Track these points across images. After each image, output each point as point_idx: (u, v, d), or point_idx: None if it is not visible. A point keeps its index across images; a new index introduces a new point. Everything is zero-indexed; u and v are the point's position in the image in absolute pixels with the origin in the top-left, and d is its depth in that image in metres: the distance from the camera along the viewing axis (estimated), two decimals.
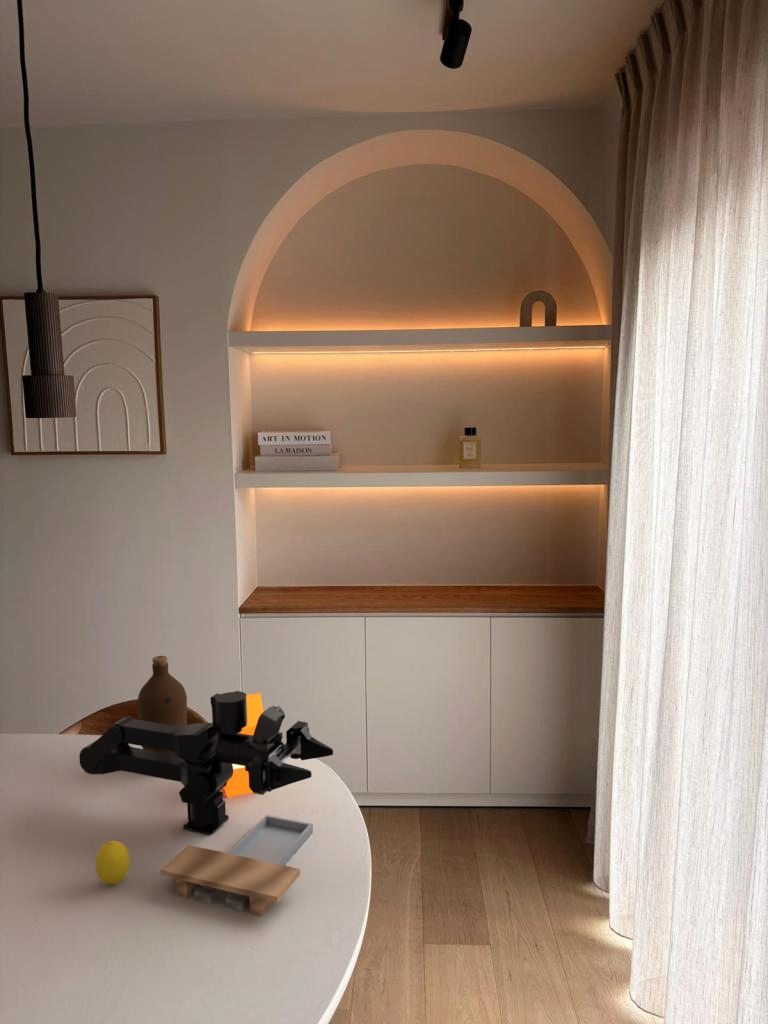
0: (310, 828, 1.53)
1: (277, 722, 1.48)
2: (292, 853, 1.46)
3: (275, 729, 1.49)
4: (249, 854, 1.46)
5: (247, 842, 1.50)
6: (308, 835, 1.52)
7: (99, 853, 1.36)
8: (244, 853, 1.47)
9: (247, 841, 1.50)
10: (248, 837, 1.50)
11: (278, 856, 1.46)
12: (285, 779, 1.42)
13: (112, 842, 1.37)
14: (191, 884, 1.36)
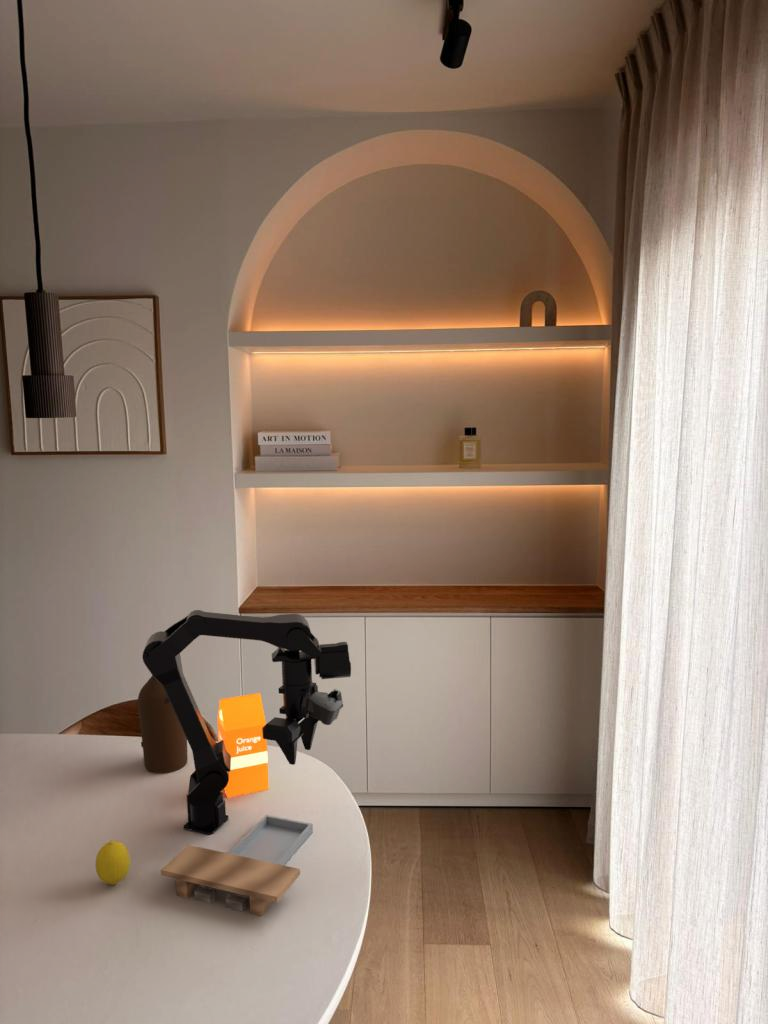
0: (310, 828, 1.53)
1: None
2: (292, 853, 1.46)
3: None
4: (249, 854, 1.46)
5: (247, 842, 1.50)
6: (308, 835, 1.52)
7: (99, 853, 1.36)
8: (244, 853, 1.47)
9: (247, 841, 1.50)
10: (248, 837, 1.50)
11: (278, 856, 1.46)
12: (283, 744, 1.54)
13: (112, 842, 1.37)
14: (191, 884, 1.36)
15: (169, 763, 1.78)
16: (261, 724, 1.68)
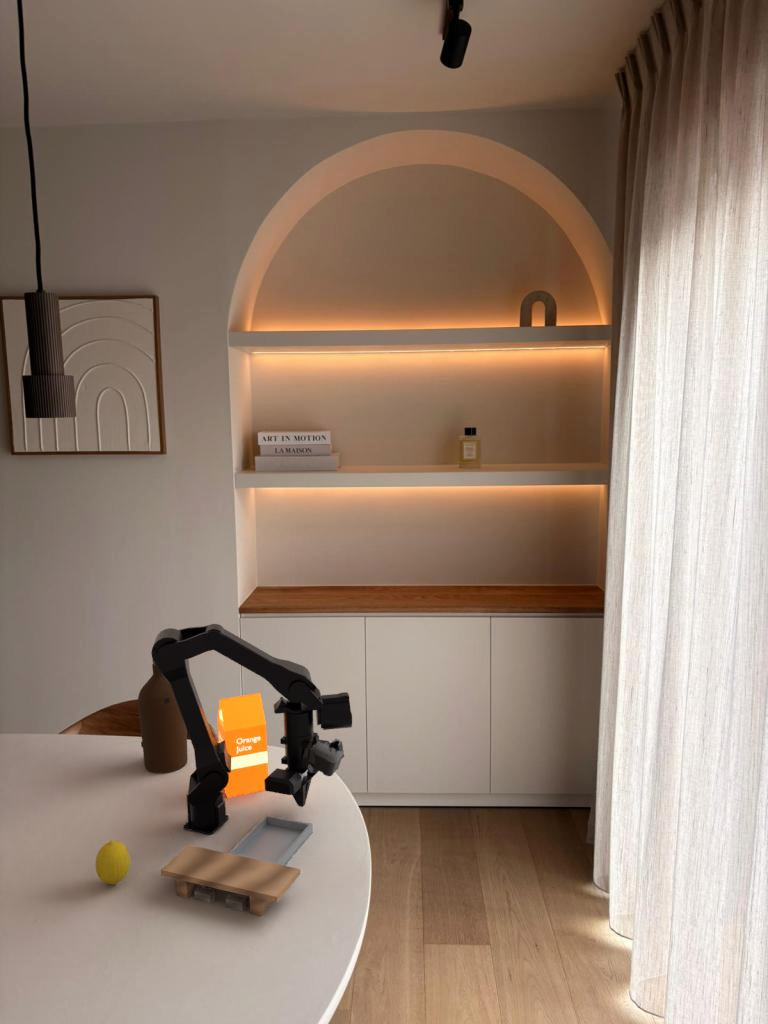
0: (310, 828, 1.53)
1: None
2: (292, 853, 1.46)
3: None
4: (249, 854, 1.46)
5: (247, 842, 1.50)
6: (308, 835, 1.52)
7: (99, 853, 1.36)
8: (244, 853, 1.47)
9: (247, 841, 1.50)
10: (248, 837, 1.50)
11: (278, 856, 1.46)
12: None
13: (112, 842, 1.37)
14: (191, 884, 1.36)
15: (169, 763, 1.78)
16: (261, 724, 1.68)
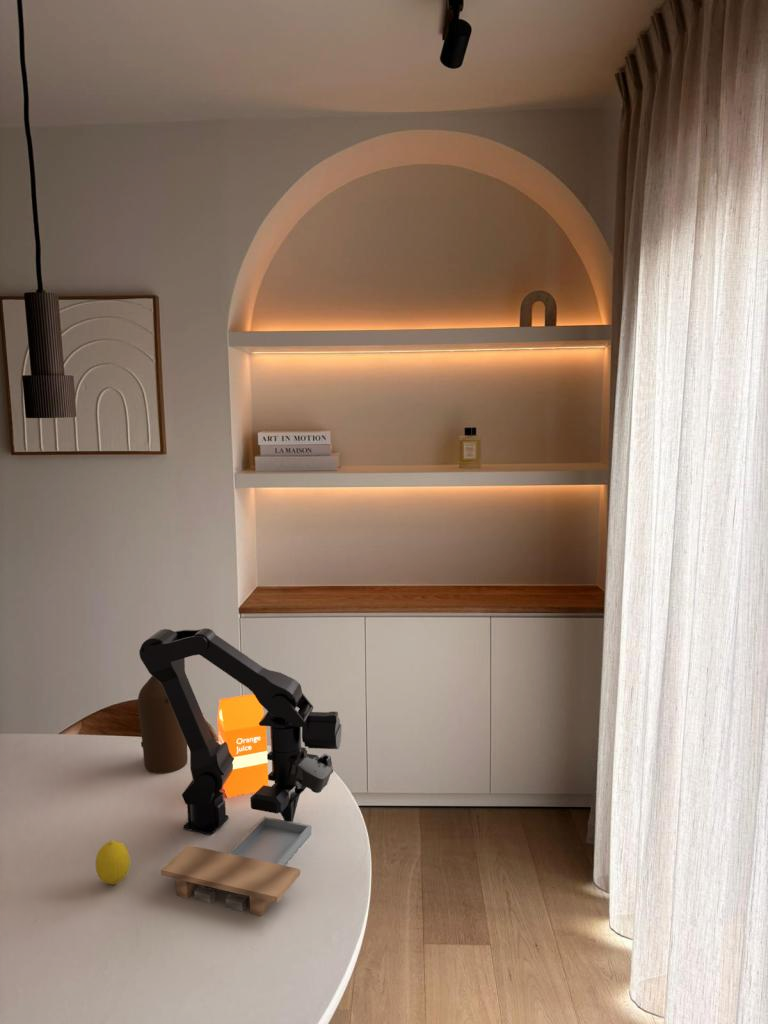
0: (309, 830, 1.52)
1: None
2: (291, 855, 1.45)
3: None
4: (247, 856, 1.46)
5: (245, 844, 1.49)
6: (307, 837, 1.51)
7: (99, 853, 1.36)
8: (242, 855, 1.46)
9: (246, 843, 1.49)
10: (246, 839, 1.49)
11: (277, 858, 1.45)
12: None
13: (112, 842, 1.37)
14: (191, 884, 1.36)
15: (169, 763, 1.78)
16: None
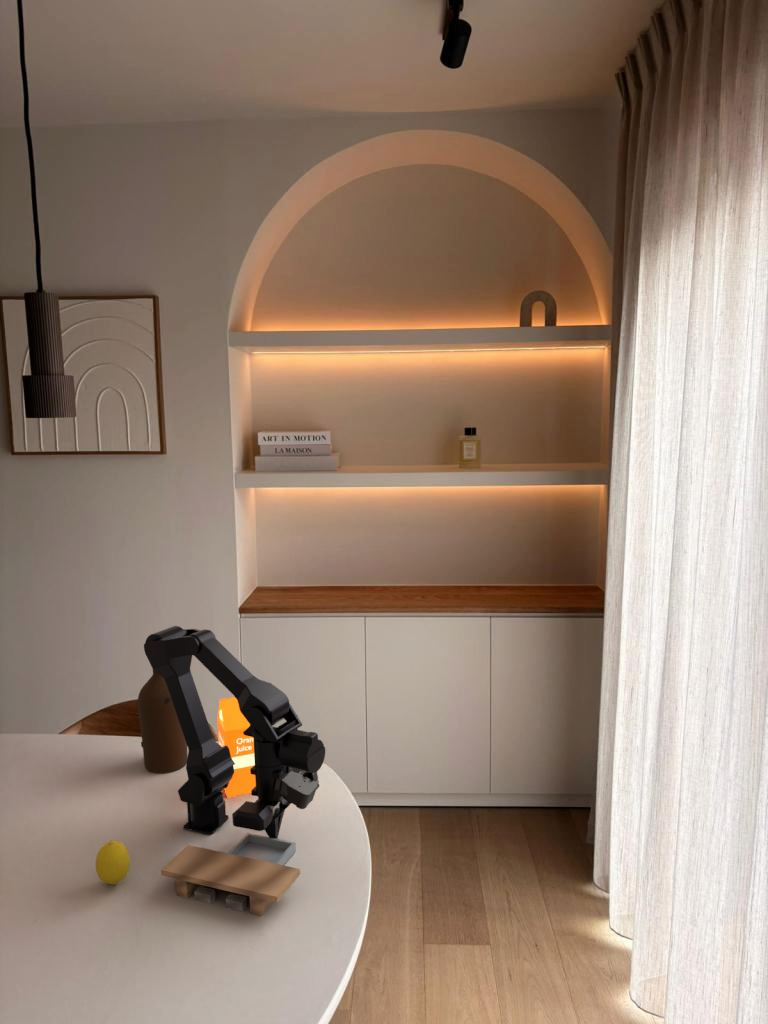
0: (293, 847, 1.46)
1: None
2: None
3: None
4: None
5: None
6: (291, 855, 1.46)
7: (99, 853, 1.36)
8: None
9: None
10: None
11: None
12: None
13: (112, 842, 1.37)
14: (191, 884, 1.36)
15: (169, 763, 1.78)
16: None
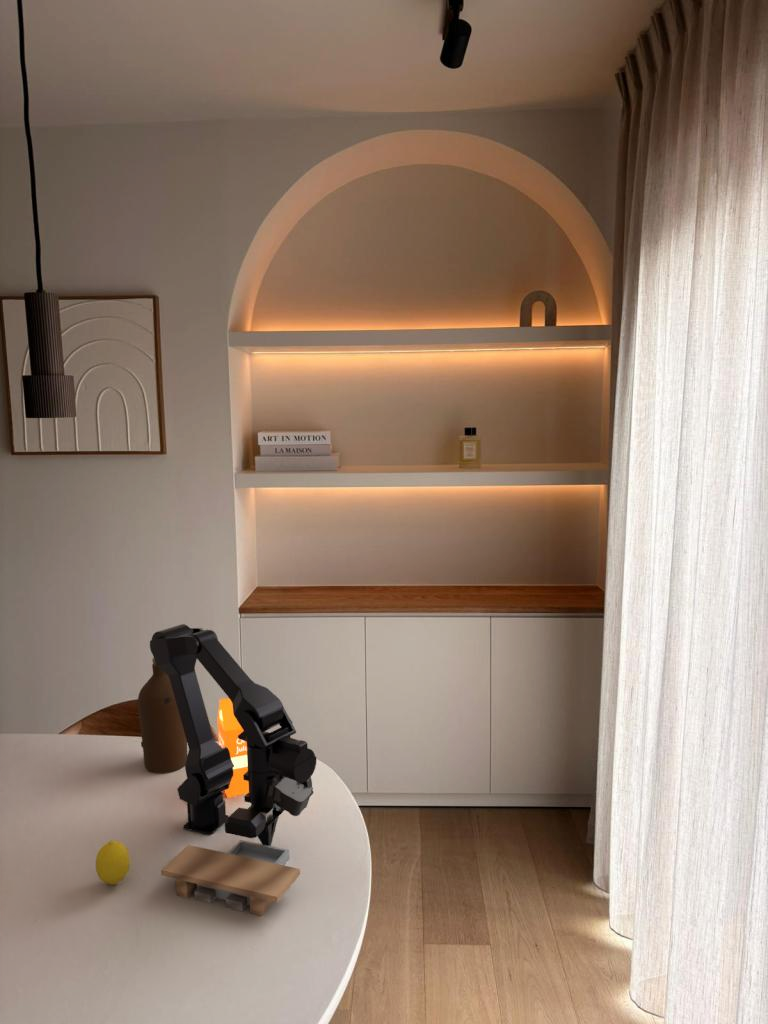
0: (286, 854, 1.44)
1: None
2: None
3: None
4: None
5: None
6: (284, 862, 1.43)
7: (99, 853, 1.36)
8: None
9: None
10: None
11: None
12: None
13: (112, 842, 1.37)
14: (191, 884, 1.36)
15: (169, 763, 1.78)
16: None
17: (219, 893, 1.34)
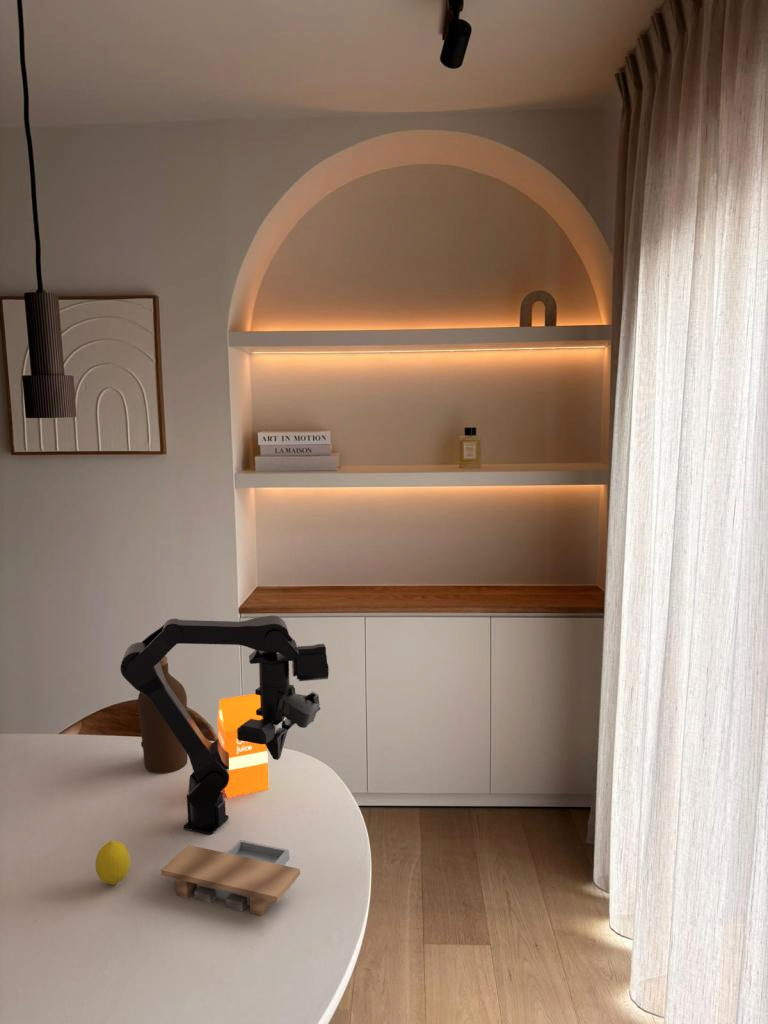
0: (286, 855, 1.44)
1: None
2: None
3: None
4: None
5: None
6: (284, 862, 1.43)
7: (99, 853, 1.36)
8: None
9: None
10: None
11: None
12: None
13: (112, 842, 1.37)
14: (191, 884, 1.36)
15: (169, 763, 1.78)
16: None
17: (219, 893, 1.34)
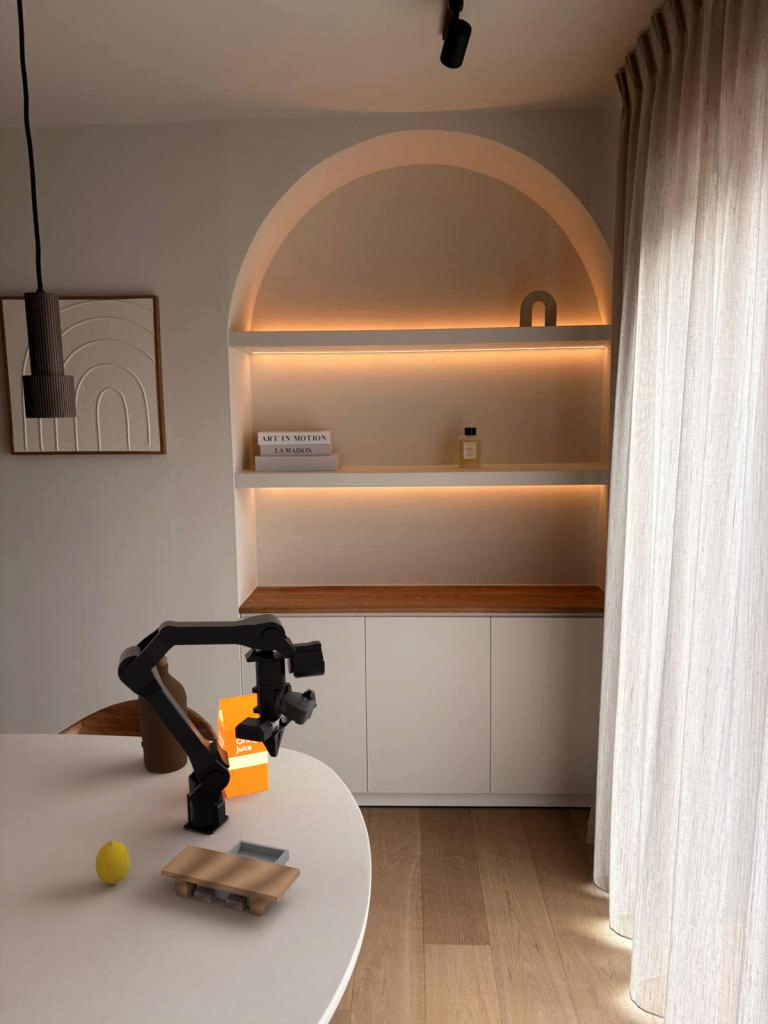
0: (286, 854, 1.44)
1: None
2: None
3: None
4: None
5: None
6: (284, 862, 1.43)
7: (99, 853, 1.36)
8: None
9: None
10: None
11: None
12: None
13: (112, 842, 1.37)
14: (191, 884, 1.36)
15: (169, 763, 1.78)
16: None
17: (219, 893, 1.34)
